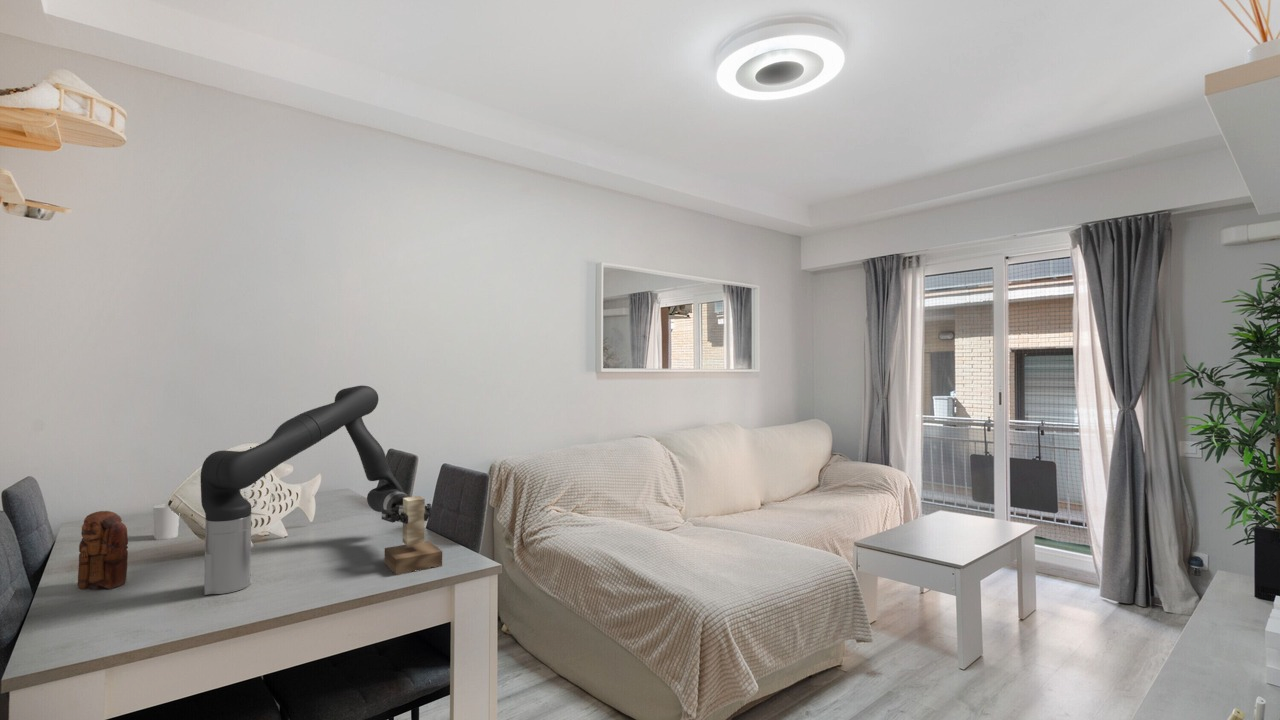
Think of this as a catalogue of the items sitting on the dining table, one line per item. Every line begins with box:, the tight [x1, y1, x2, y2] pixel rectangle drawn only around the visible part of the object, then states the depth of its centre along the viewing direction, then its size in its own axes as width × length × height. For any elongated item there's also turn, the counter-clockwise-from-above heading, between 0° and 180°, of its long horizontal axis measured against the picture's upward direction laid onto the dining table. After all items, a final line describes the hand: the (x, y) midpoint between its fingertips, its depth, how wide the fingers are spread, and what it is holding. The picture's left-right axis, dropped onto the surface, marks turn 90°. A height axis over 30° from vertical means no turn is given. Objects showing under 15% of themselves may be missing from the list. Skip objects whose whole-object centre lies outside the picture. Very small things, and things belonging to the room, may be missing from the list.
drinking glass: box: [152, 502, 180, 541], centre depth 187 cm, size 7×7×10 cm
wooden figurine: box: [77, 510, 129, 590], centre depth 146 cm, size 12×6×18 cm, turn 86°
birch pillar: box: [402, 495, 426, 546], centre depth 163 cm, size 4×4×12 cm
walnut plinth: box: [384, 540, 443, 576], centre depth 162 cm, size 12×12×4 cm
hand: (416, 518), depth 161 cm, fingers closed on birch pillar, 4 cm apart
